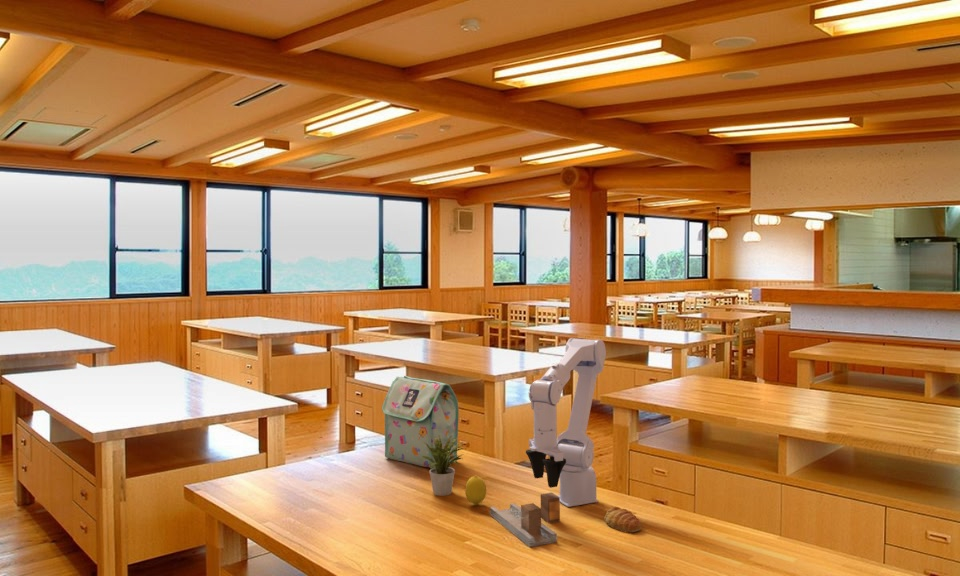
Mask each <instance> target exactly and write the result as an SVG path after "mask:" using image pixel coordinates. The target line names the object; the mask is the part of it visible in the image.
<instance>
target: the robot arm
mask: <svg viewBox="0 0 960 576" xmlns="http://www.w3.org/2000/svg"><path fill="white" fill-rule="evenodd" d="M606 355H607V349H606V345H605V342H604V340H602V339H589V338H587V339H586V338H585V339H584V338H576V337H575V338H574V337H570V338H569V339H568V340H567V342H566V344H565V353H564V355H563V356H562V357H561V359H560V360H559V362H558V363H557V362H556V363H552V365H551V366H550V367H549V368H548V370H547V371H546V372H545V373H544V374H543V375H542V377H541V378H539V379H536V380H535V381H532V383H531V384H530V385H529V391H528V398H529V401H530V407H531V410H533V438H530V439H528V447H529V449H525V454H526V456H527V458H528V459H529V462H530V465H531V470H532V475H533V477H534V479H542V478H543V477H544V474H545V473H544V472H545V471H546V479H547V480H546V481H547V486H548V487H549V488H552V489H553V488H557V487H558V485H559V494H556V495H557V496H558V497H560V504H562V505H564V506H565V507H566V508H567V507H568V508H570V507H575V506H580V505H582V506H583V505H586V504H593V503H598V502H599V500H598V498H597V475H596V471H595V469H594V468H593V467H592V464H593V462H594V447H595V444H594V442H593V441H594V440H592V438H590V437H589V435H588V434H587V429H588V425H589V418H590V415H591V414H590V413H591V408H592V404H593V398H594V393H595V388H596V383H597V379H598V375H599V374H600V373H602V372H603V370H604V367H605V361H606ZM572 371H575V372H577V374H578V377H577V381H576V387H575V392H574V397H573V401H572V406H571V411H570V417H569V421H568V425H567V429H566V430H565V431H562V433H560V434H558V432H557V431H558V430H557V429H558V426H557V421H558V419H557V418H558V417H557V413H558V412H557V411H558V410H557V404H558V403H559V402H560V401H561V397H562V393H563V388H565V386H566V384H567V383H568V382H569V380H570V379H571V372H572ZM547 456H548V457H549V458H547Z"/></svg>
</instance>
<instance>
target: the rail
mask: <svg viewBox="0 0 960 576" xmlns="http://www.w3.org/2000/svg"><path fill="white" fill-rule="evenodd" d="M509 506H510V508H505V509H504V508H503V509H500V510H499V509H498V508H497V507H496V506H490V507H489V516H490V517H492V518H493V519H494V520H496V521H497V522H498V523H499V524H501V525H502V526H503V527H504V528H505V529H507V530H508V531H509V532H510V533H511V534H513V536H515V537H516V538H517V539H519V540H520V541H521V542H523V543H524V544H525V545H526V546H528V548H533V547H534V548H535V547H539V546H542V545H543V546H544V545H549V544H554V543H557V542H558V541H557V540H558V538H557V537H558V536H557V535H558V533H556V532H555V531H554V530H552V529H551V528H550V527H548V526H547V525H546V524H545V523H542V518H541V507H539V506H538V505H536V504H535V503H533V502H531V503H527V504H520V505H518V504H516V503H513V502H512V503H510V505H509Z"/></svg>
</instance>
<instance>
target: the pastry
mask: <svg viewBox="0 0 960 576" xmlns="http://www.w3.org/2000/svg"><path fill="white" fill-rule="evenodd" d="M604 521H605V523H606V524H607V526H609V527H611V528H613V529H615V528H616V530H618V531H621V530H622V531H621V532H624V531H626V532H625V533H631V532H633V533H636V532H638V531H640V530H641V528H642V525H643V524H642V522H641V521H640V519H639V518H638V516H636V515H635V514H633V513H632V511H629V510H627V509H626V508H623V509H622V508H620V507H618V506H613V507H610V509H608V510H607V511H606V513H605V515H604Z"/></svg>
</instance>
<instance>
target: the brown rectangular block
mask: <svg viewBox="0 0 960 576" xmlns="http://www.w3.org/2000/svg"><path fill="white" fill-rule="evenodd" d="M557 495H558V494H555V493H553V492H547V493H541V494H540V508H541V520H543V521H545V522H547V524H552V523H556V522H560V521H561V502H560V497H558V496H557Z"/></svg>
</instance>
